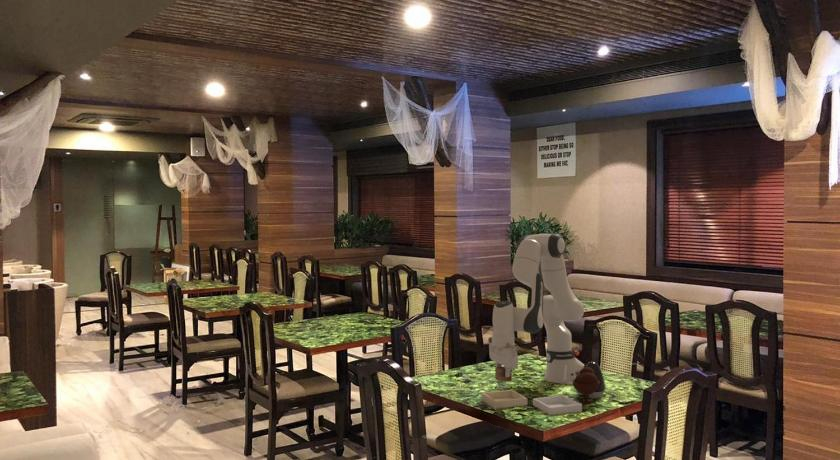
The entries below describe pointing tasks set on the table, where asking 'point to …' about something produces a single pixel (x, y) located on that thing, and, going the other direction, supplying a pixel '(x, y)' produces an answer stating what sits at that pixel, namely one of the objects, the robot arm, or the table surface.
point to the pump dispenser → (599, 375)
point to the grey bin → (557, 405)
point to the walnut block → (502, 374)
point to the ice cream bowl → (586, 383)
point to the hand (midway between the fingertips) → (503, 375)
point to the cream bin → (503, 399)
